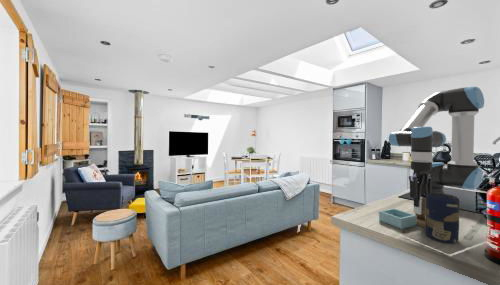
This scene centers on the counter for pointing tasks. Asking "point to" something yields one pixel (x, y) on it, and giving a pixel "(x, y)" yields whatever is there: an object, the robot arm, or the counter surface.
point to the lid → (422, 214)
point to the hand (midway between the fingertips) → (420, 212)
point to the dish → (398, 218)
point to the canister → (442, 217)
